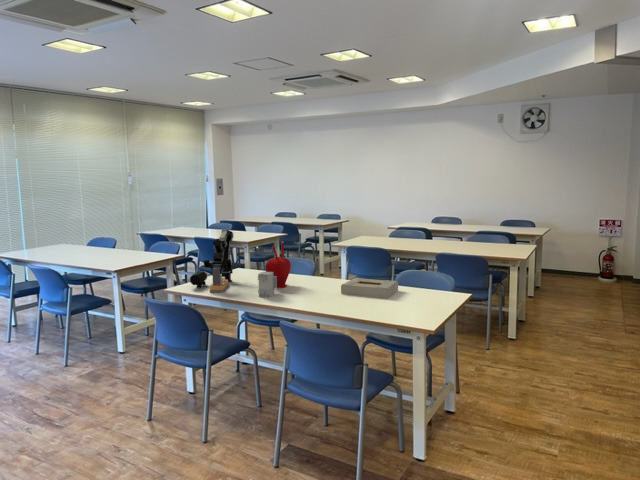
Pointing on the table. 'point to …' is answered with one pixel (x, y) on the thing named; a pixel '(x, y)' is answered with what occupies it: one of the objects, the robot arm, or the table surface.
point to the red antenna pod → (279, 268)
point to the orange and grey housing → (219, 286)
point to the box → (370, 288)
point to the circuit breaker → (267, 284)
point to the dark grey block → (216, 275)
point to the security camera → (198, 278)
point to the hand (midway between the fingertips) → (216, 273)
